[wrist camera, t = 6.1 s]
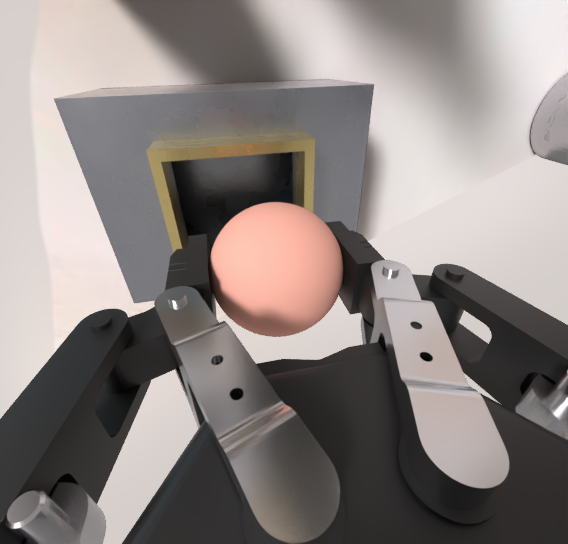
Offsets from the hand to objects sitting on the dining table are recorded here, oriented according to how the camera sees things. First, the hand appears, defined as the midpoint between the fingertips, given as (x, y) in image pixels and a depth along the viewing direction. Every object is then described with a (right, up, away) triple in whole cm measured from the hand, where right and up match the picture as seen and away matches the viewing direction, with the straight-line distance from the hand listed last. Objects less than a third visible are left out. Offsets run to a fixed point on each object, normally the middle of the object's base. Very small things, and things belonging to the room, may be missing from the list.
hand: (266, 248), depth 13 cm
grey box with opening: (-4, +8, +15) cm, 18 cm away
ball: (0, -1, -2) cm, 2 cm away
